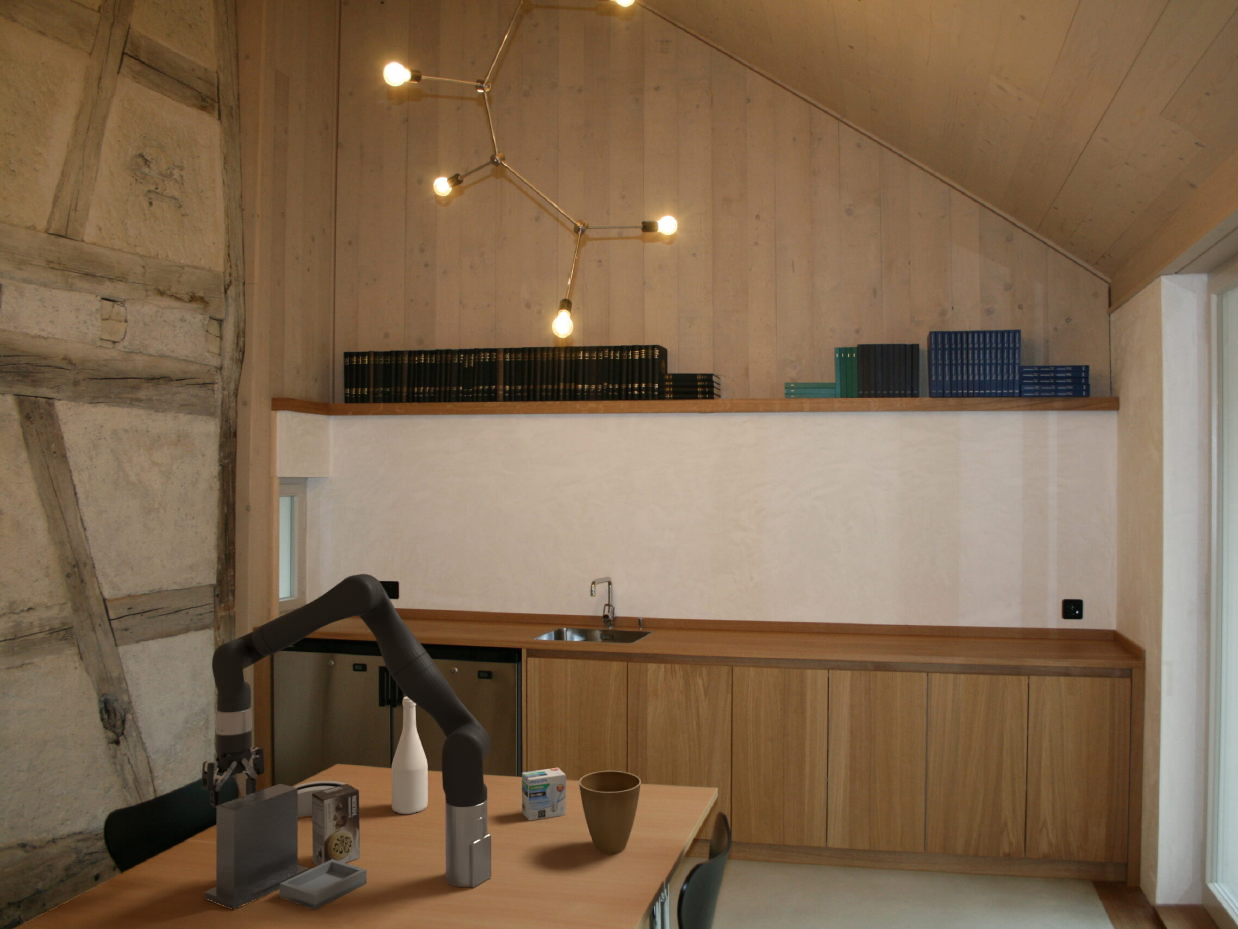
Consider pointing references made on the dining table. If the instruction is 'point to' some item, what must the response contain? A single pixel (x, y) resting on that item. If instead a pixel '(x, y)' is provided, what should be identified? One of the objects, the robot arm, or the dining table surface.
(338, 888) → the parts tray
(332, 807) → the coffee box
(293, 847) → the upright panel on base
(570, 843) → the dining table surface
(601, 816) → the plant pot
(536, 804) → the light bulb box
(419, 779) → the wine bottle
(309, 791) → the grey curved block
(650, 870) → the dining table surface
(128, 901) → the dining table surface
